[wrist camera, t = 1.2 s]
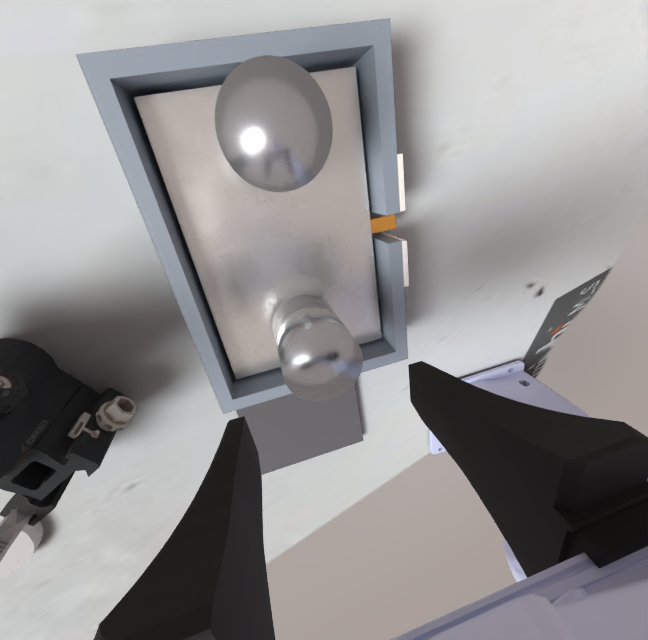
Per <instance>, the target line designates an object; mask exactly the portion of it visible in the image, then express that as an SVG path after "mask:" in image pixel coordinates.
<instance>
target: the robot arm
mask: <svg viewBox="0 0 648 640" xmlns="http://www.w3.org/2000/svg"><path fill="white" fill-rule="evenodd" d="M409 381H410V397H411V402H412V404H413V406H414V407H415V409H416V411H417V412H418V414H419V416H420V417H421V419H422V420H423V422H424V423H425V424H426V426H427V427H428V428H429V444H430V452H431V453H432V454H438V453H441V452H443V451H447V452H448V453H449V454H450V455H451V457H452V458H453V459H454V460H455V462H456V463H457V464H458V466H459V467H460V468H461V470H462V471H463V473H464V474H465V476H466V477H467V479H468V480H469V482H470V483H471V485H472V486H473V488H474V489H475V491H476V492H477V494H478V495H479V497H480V499H481V500H482V502H483V503H484V505H485V507H486V508H487V510H488V511H489V513H490V514H491V516H492V518H493V519H494V521H495V523H496V524H497V526H498V528H499V529H500V531H501V533H502V534H503V536H504V538H505V542H504V549H505V553H506V556H507V561H508V565H509V567H510V570H511V572H512V574H513V576H514V577H515V580H516V581H517V583H515V584H513V585H510V586H508V587H506V588H504V589H502V590H499V591H497V592H495V593H493V594H491V595H488V596H486V597H484V598H482V599H480V600H478V601H475V602H473V603H471V604H469V605H466V606H464V607H462V608H460V609H457V610H455V611H453V612H451V613H449V614H446V615H444V616H442V617H440V618H438V619H435V620H433V621H431V622H429V623H427V624H424V625H422V626H420V627H418V628H416V629H413V630H411V631H409V632H407V633H404V634H402V635H400V636H398V637H396V638H393V639H391V640H648V437H647V436H645V435H643V434H642V433H640V432H639V431H637V430H636V429H634V428H632V427H631V426H629V425H628V424H626V423H624V422H619V421H611V420H604V419H597V418H591V417H590V416H589V415H587V414H586V413H585V412H584V411H583V410H581V409H580V408H579V407H577V406H576V405H574V404H573V403H571V402H570V401H568V400H567V399H565V398H564V397H562V396H561V395H559V394H557V393H556V392H554V391H553V390H552V389H550V388H549V387H547V386H546V385H544V384H543V383H541V382H539V381H538V380H537V379H535V378H534V377H532V376H531V375H529V374H528V373H526V372H524V363H523V362H522V361H515V362H512V363H509V364H506V365H503V366H500V367H497V368H493V369H490V370H487V371H484V372H481V373H478V374H475V375H472V376H468V377H465V378H462V379H458V378H456V377H454V376H452V375H450V374H448V373H446V372H444V371H441V370H439V369H437V368H435V367H433V366H431V365H429V364H427V363H425V362H422V361H420V362H417V363H413V364H410V365H409ZM94 640H275V634H274V627H273V621H272V612H271V605H270V597H269V589H268V582H267V572H266V564H265V555H264V545H263V519H262V479H261V469H260V462H259V455H258V450H257V448H256V445H255V442H254V440H253V437H252V435H251V432H250V429H249V427H248V424H247V422H246V419H245V416H243V417H239V418H236V419H233V420H230V421H229V422H228V423H227V426H226V429H225V432H224V434H223V437H222V440H221V442H220V445H219V447H218V450H217V452H216V454H215V456H214V459H213V461H212V463H211V466H210V468H209V470H208V472H207V474H206V476H205V478H204V480H203V482H202V484H201V486H200V488H199V490H198V492H197V494H196V496H195V497H194V499H193V501H192V503H191V504H190V506H189V508H188V509H187V511H186V513H185V514H184V516H183V518H182V519H181V521H180V522H179V524H178V525H177V527H176V529H175V530H174V532H173V533H172V535H171V536H170V538H169V539H168V541H167V542H166V543H165V545H164V546H163V548H162V549H161V551H160V552H159V553H158V554H157V556H156V557H155V558H154V560H153V561H152V562H151V564H150V565H149V566H148V568H147V569H146V570H145V572H144V573H143V574H142V575H141V577H140V578H139V579H138V580H137V582H136V583H135V584H134V585H133V587H132V588H131V589H130V590H129V591H128V592H127V594H126V595H125V596H124V597H123V598H122V599H121V601H120V602H119V603H118V604H117V605H116V606H115V607H114V609H113V610H112V611H111V612H110V613H109V614H108V616H107V617H106V618H105V619H104V620H103V621H102V622H101V623H100V625H99V627H98V630H97V633H96V635H95V638H94Z"/></svg>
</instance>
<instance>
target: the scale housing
mask: <svg viewBox="0 0 648 640" xmlns="http://www.w3.org/2000/svg"><path fill="white" fill-rule="evenodd" d="M264 55H272V56H279V57H283V58H286V59H288V60H291V61H293V62H295V63H296V64H298V65H300V66H301V67H302V68H304V69H305V70H306V71H307V72H308V73H312V72H320V71H327V70H334V69H341V68H349V67H356V76H357V86H358V97H359V107H360V118H361V128H362V139H363V149H364V159H365V170H366V180H367V191H368V201H369V212H370V218H372V217H377V216H381V215H386V216H387V215H391V214H396V213H400V212H401V211H405V191H404V169H403V154H397V142H396V124H395V105H394V86H393V68H392V49H391V30H390V18H389V19H380V20H371V21H363V22H354V23H345V24H336V25H328V26H319V27H310V28H302V29H293V30H284V31H275V32H267V33H258V34H249V35H240V36H232V37H223V38H214V39H205V40H197V41H188V42H179V43H170V44H162V45H153V46H144V47H135V48H127V49H118V50H109V51H100V52H92V53H83V54H76V57H77V59H78V62H79V64H80V67H81V69H82V71H83V74H84V76H85V79H86V81H87V84H88V86H89V88H90V91H91V93H92V96H93V98H94V101H95V103H96V106H97V108H98V110H99V113H100V115H101V118H102V120H103V123H104V125H105V127H106V130H107V132H108V135H109V137H110V140H111V142H112V145H113V147H114V149H115V152H116V154H117V157H118V159H119V162H120V164H121V166H122V169H123V171H124V174H125V176H126V179H127V181H128V183H129V186H130V188H131V191H132V193H133V196H134V198H135V201H136V203H137V205H138V208H139V210H140V213H141V215H142V218H143V220H144V222H145V225H146V227H147V230H148V232H149V235H150V237H151V239H152V242H153V244H154V247H155V249H156V252H157V254H158V257H159V259H160V261H161V264H162V266H163V269H164V271H165V274H166V276H167V278H168V281H169V283H170V286H171V288H172V291H173V293H174V296H175V298H176V300H177V303H178V305H179V308H180V310H181V313H182V315H183V317H184V320H185V322H186V325H187V327H188V330H189V332H190V334H191V337H192V339H193V342H194V344H195V347H196V349H197V352H198V354H199V356H200V359H201V361H202V364H203V366H204V369H205V371H206V373H207V376H208V378H209V381H210V383H211V386H212V388H213V390H214V393H215V395H216V398H217V400H218V403H219V405H220V408H221V410H222V412H223V414H225V413H228V412H232V411H235V410H238V409H242V408H245V407H248V406H252V405H255V404H258V403H262V402H265V401H268V400H272V399H275V398H278V397H282V396H285V395H288V394H292V392H291V391H290V390H289V388H288V387H287V385H286V383H285V380H284V377H283V373H282V369H281V367H278V368H275V369H271V370H268V371H264V372H261V373H257V374H254V375H250V376H247V377H243V378H240V379H236V378H235V375H234V372H233V369H232V367H231V364H230V361H229V358H228V356H227V353H226V350H225V347H224V345H223V342H222V339H221V336H220V334H219V331H218V328H217V325H216V323H215V320H214V317H213V314H212V312H211V309H210V306H209V303H208V300H207V298H206V295H205V292H204V289H203V287H202V284H201V281H200V278H199V276H198V273H197V270H196V267H195V265H194V262H193V259H192V256H191V254H190V251H189V248H188V245H187V243H186V240H185V237H184V234H183V231H182V229H181V226H180V223H179V220H178V218H177V215H176V212H175V209H174V207H173V204H172V201H171V198H170V196H169V193H168V190H167V187H166V185H165V182H164V179H163V176H162V173H161V171H160V168H159V165H158V162H157V160H156V157H155V154H154V151H153V149H152V146H151V143H150V140H149V138H148V135H147V132H146V129H145V127H144V124H143V121H142V118H141V116H140V113H139V110H138V107H137V104H136V102H135V99H134V97H138V96H145V95H153V94H160V93H167V92H174V91H182V90H189V89H196V88H203V87H211V86H218V85H222V84H223V82H224V81H225V79H226V77H227V76H228V75H229V74H230V73H231V71H232V70H233V69H234V68H236V67H237V66H238V65H239V64H241V63H242V62H244V61H246V60H248V59H251V58H253V57H258V56H264ZM372 243H373V253H374V264H375V274H376V285H377V295H378V305H379V316H380V326H381V337H382V338H380V339H377V340H373V341H370V342H366V343H363V344H359V346H360V348H361V350H362V354H363V366H362V370H361V373H362V372H365V371H368V370H372V369H375V368H378V367H382V366H385V365H388V364H392V363H395V362H398V361H402V360H405V359H408V347H407V328H406V310H405V291H404V287H406V286H409V277H408V255H407V240H404V239H401V238H399V237H396V236H393V235H390V234H387V233H386V232H385V231H382V232H377V233H373V234H372Z"/></svg>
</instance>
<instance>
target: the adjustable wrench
mask: <svg viewBox="0 0 648 640" xmlns="http://www.w3.org/2000/svg"><path fill="white" fill-rule="evenodd" d="M28 522H29V521H28ZM28 522H27V524H26V525H25V526H24V528H23V529H22V531H21V532H20V533H19V535H18V536H17V538H16V539H15V541H14V542H13V543H12V545H11V546H10V548H9V549H8V551H7V552H6V554H5V556H4V557H3V559H2V560H1V562H0V578H2V577H4V576H6V575H8V574H10V573H12V572H14V571H16V570H18V569H20V568H21V567H23V566H24V565H25V564H26V563H27V562H29V560H30V559H31V558H32V556H33V554H34V553H35V551H36V549H37V547H38V545H39V543H40V542H41V540H42V538H43V532H44V529H43V526H42V524H41V522H40V521H39V522H38V523H37V524H36V525H35V526H30V525H28Z"/></svg>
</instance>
